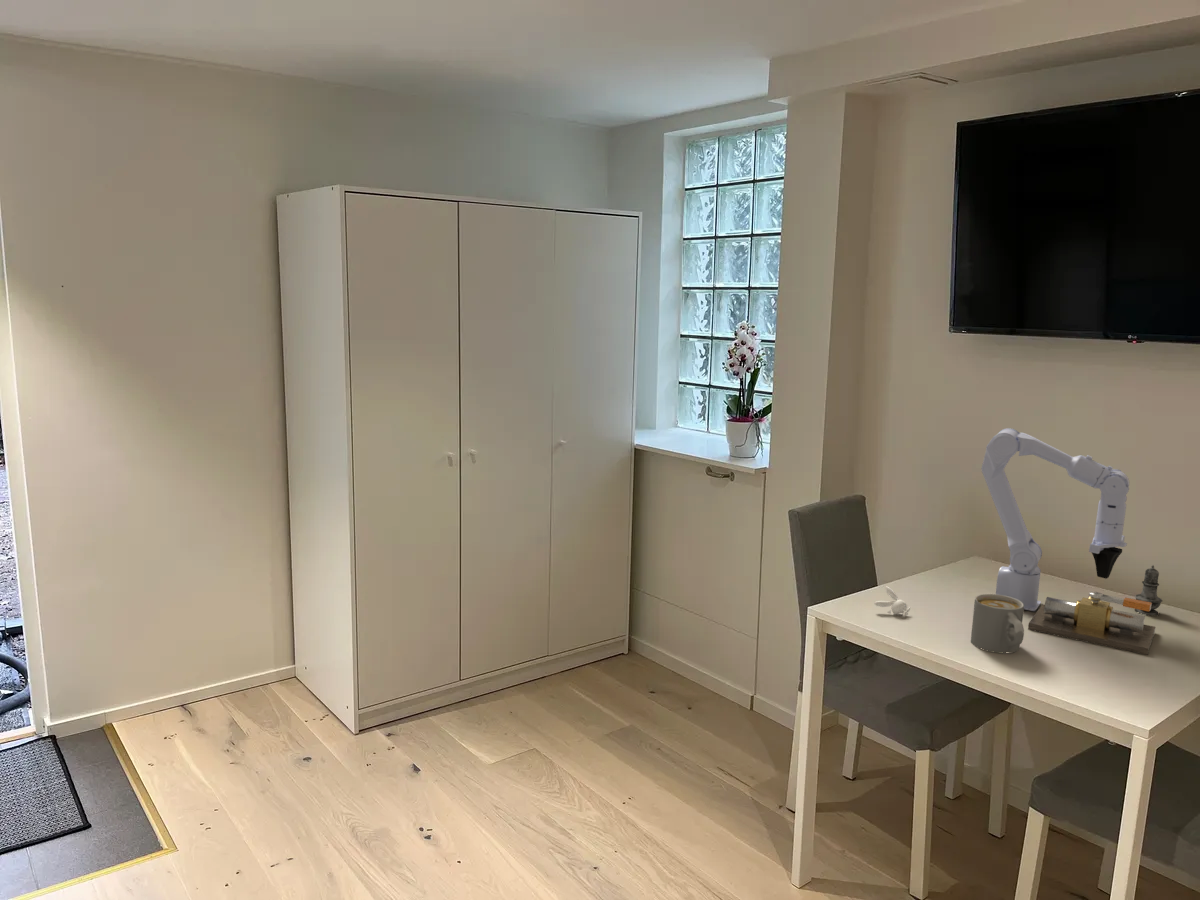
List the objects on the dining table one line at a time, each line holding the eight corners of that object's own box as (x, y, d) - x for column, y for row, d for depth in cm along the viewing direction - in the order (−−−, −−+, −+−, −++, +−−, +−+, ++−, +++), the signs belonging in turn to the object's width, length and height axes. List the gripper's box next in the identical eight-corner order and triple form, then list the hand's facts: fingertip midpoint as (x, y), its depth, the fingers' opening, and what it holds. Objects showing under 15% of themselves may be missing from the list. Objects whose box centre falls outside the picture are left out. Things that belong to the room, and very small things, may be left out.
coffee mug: (963, 635, 209) (968, 593, 207) (1008, 636, 209) (1012, 594, 207) (987, 659, 196) (991, 614, 194) (1034, 660, 196) (1039, 615, 194)
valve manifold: (1028, 629, 213) (1031, 597, 212) (1041, 610, 226) (1045, 580, 225) (1147, 654, 200) (1151, 621, 198) (1154, 632, 213) (1159, 601, 211)
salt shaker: (1164, 617, 223) (1171, 569, 221) (1138, 615, 224) (1144, 567, 222) (1155, 609, 229) (1161, 562, 226) (1129, 606, 230) (1135, 560, 228)
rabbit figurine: (902, 620, 218) (873, 599, 221) (898, 627, 221) (870, 606, 224) (916, 603, 220) (887, 583, 224) (912, 610, 223) (884, 590, 227)
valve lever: (1087, 599, 211) (1087, 593, 211) (1089, 596, 214) (1090, 589, 213) (1149, 612, 204) (1149, 605, 204) (1151, 608, 206) (1151, 602, 206)
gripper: (1115, 530, 209) (1107, 587, 212) (1140, 520, 218) (1133, 575, 221) (1082, 523, 215) (1076, 579, 217) (1109, 514, 224) (1102, 568, 226)
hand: (1102, 577), depth 219 cm, fingers closed
